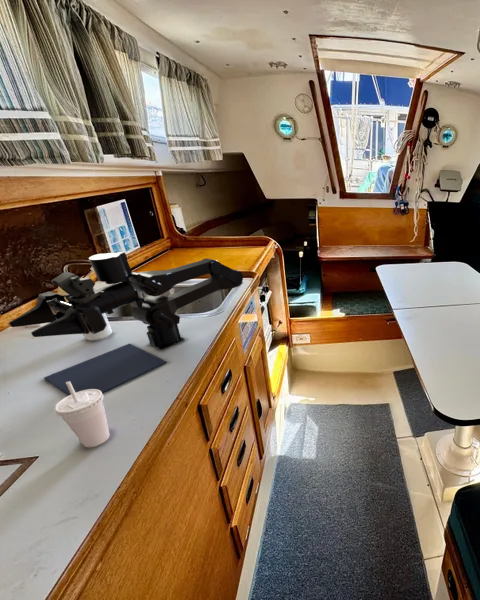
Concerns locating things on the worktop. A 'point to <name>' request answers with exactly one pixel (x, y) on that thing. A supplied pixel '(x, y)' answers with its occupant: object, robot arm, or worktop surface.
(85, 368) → the mat
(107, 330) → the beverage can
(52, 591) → the worktop surface
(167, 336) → the robot arm
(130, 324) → the worktop surface
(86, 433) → the smoothie
